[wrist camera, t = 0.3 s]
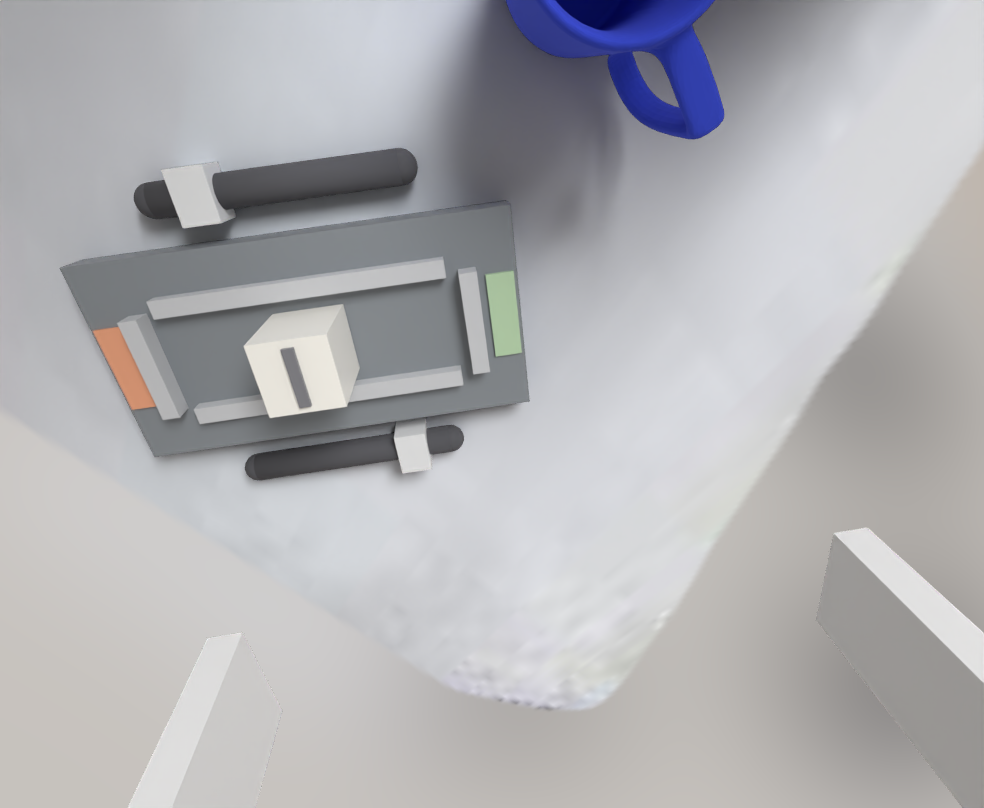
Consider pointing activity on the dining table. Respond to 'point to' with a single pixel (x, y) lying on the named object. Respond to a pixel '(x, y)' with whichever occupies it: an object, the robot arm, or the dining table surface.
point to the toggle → (304, 361)
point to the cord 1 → (267, 185)
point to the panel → (304, 285)
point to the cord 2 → (361, 451)
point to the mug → (617, 32)
